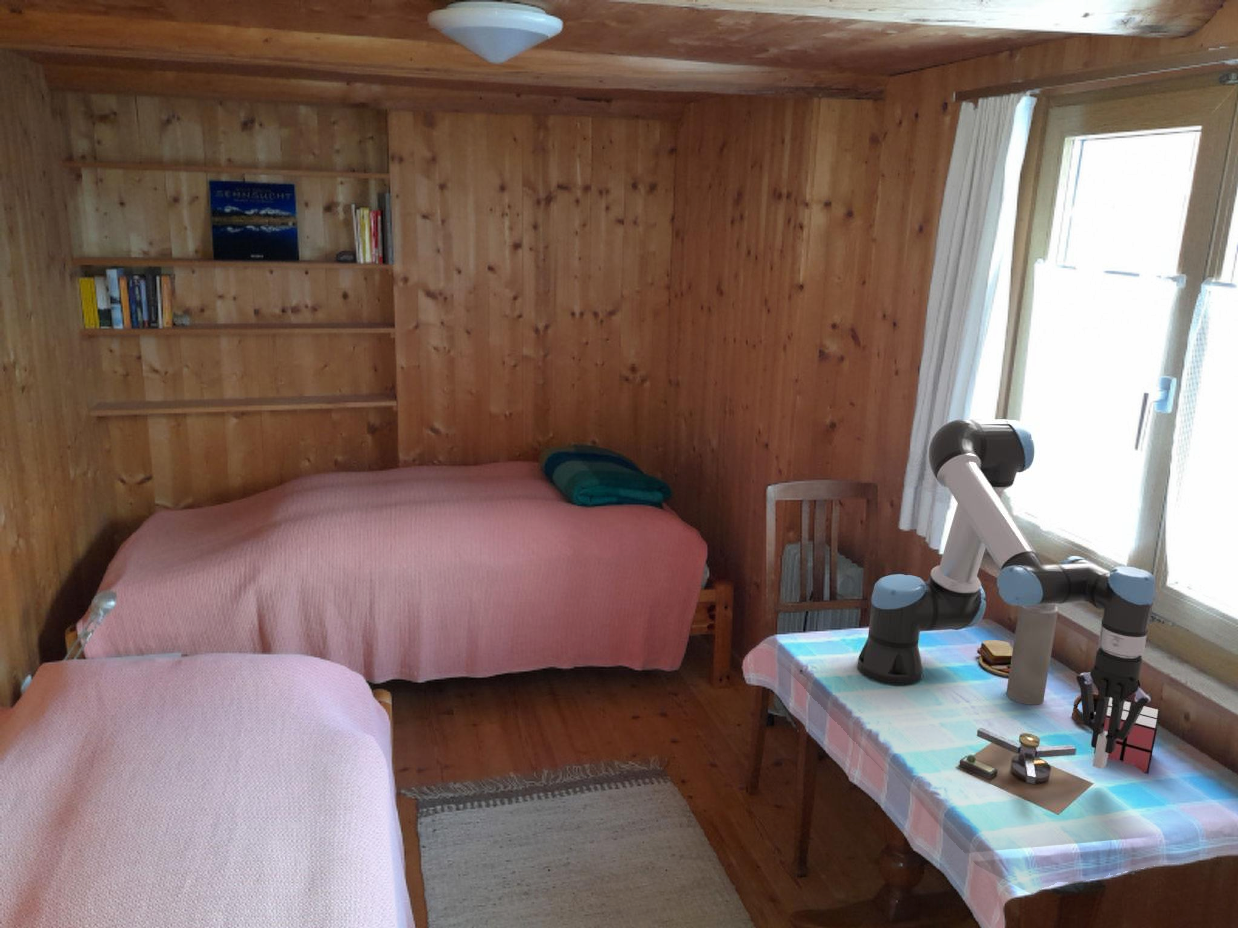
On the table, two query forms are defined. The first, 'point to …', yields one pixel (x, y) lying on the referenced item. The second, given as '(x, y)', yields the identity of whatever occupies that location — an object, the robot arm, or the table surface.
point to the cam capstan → (1028, 755)
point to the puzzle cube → (1135, 737)
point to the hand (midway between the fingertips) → (1099, 764)
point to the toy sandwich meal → (996, 656)
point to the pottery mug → (1078, 714)
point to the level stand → (996, 771)
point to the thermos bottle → (1032, 653)
